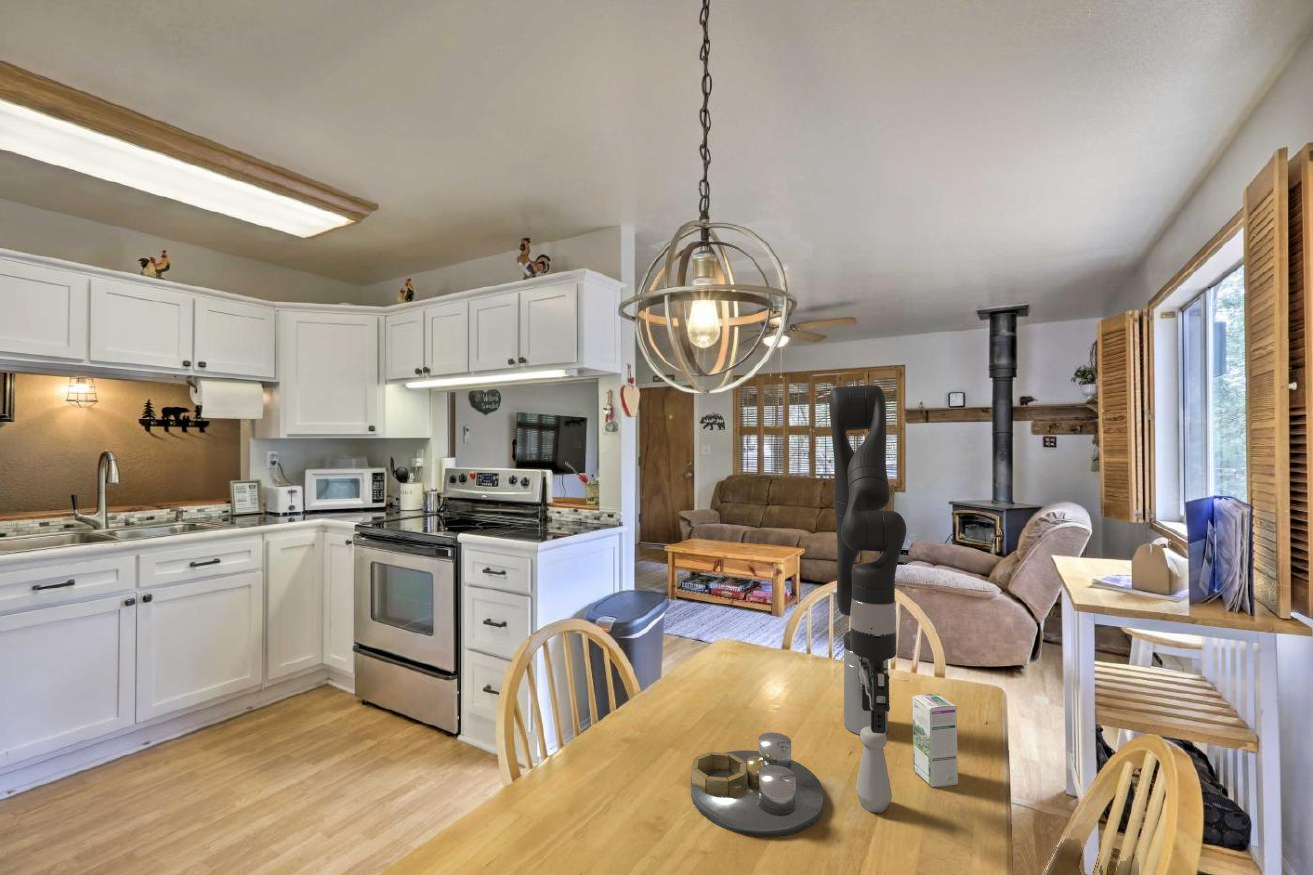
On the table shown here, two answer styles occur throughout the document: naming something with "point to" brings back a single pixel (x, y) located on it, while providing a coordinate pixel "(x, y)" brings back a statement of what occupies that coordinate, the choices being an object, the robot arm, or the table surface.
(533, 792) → the table surface
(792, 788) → the carrier
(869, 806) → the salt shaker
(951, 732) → the syrup box
